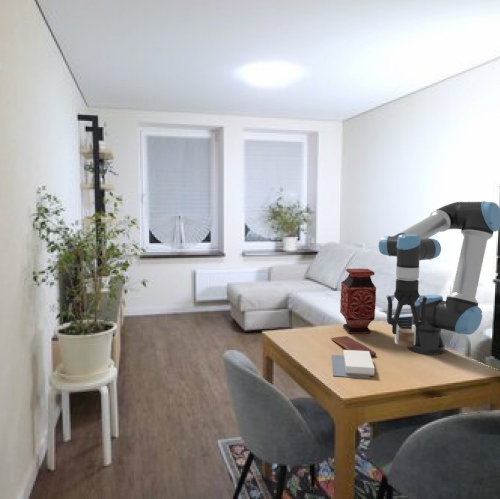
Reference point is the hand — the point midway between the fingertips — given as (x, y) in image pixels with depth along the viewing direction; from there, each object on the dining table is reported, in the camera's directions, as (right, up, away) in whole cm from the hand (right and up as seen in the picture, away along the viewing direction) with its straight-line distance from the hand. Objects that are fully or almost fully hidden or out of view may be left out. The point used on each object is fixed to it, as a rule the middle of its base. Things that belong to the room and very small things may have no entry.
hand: (404, 343), depth 155 cm
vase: (-3, -7, +59) cm, 60 cm away
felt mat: (-17, -11, +12) cm, 24 cm away
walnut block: (0, 0, 0) cm, 0 cm away
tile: (-9, -10, +11) cm, 17 cm away
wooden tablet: (-11, -9, +34) cm, 37 cm away
